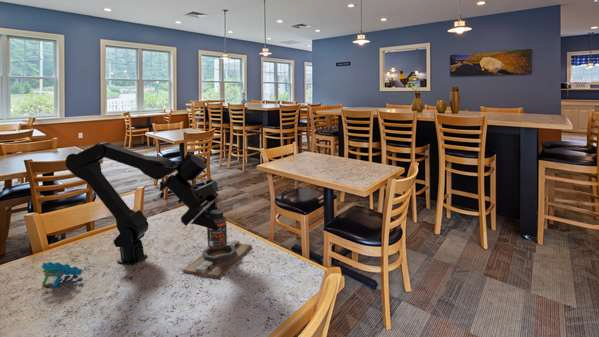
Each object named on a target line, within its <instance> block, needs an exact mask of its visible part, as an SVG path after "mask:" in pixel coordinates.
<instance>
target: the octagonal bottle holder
mask: <svg viewBox="0 0 599 337" xmlns="http://www.w3.org/2000/svg"><path fill="white" fill-rule="evenodd" d="M252 247H253V246H252V244H247V243H241V242H240V240H236V239H235V240H234V239H232V240H230V241H227V245H226V246H225V247H223V248H220V249H212V248H209V247H208V246H207V248H205V249H203V250H202V251H201V252H202V254H201V255H200V256H199V257H198V258H196V259H195V260H193V261H192V262H190V264H188V265H187V266H185V267H184V268H183V269H182V272H183V273H185V274H192V275H198V276H202V277H203V276H204V277H208V278H214V279H219V278H220V277H221V276H222V275H223V274H224V273H225V272H226V271H228V269H230V268H231V267H232V266H233V265H234V264H235V263H236V262H238V260H239V259H240V258H242V256H244V255H245V254H246V253H247V252H248V251H249V250H250V249H251V248H252Z"/></svg>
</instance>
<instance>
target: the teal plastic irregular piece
mask: <svg viewBox="0 0 599 337" xmlns="http://www.w3.org/2000/svg"><path fill="white" fill-rule="evenodd" d="M70 266H71V265H70V264H67V263H65V264H62V263H61V262H54V263H53V262H51V261H48V262H43V264H42V266H41V268H42V271H41V272H42V273H44V275H43V276H45V277H44V279H43V281H42V282H41V285H43V284H45V285H46V283H47V281H48V279H49V278H50V277H51V278H53V277H55V280H54V282H53V284H52V287H53V288H57V287H58V286H59V283H60V280H61V278H62V277H63V276H64V275H65V276H70V275H72V276H77V275H78V276H81V275H82V272H83V269H81V268H79V267H77V266H72V267H70Z"/></svg>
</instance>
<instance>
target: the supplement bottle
mask: <svg viewBox="0 0 599 337" xmlns="http://www.w3.org/2000/svg"><path fill="white" fill-rule="evenodd" d="M210 218H211V219H212V220H213V221H214V222H215V224H216V225H217V226H218V228H219V229H218V230H217V231H216V230H212V229H209V228H206V229H207V230H206V235H207V238H206V239H207V248H208V247H209V248H212V249H220V248H223V247H225V246H226V245H227V242H228V237H227V236H228V231H227V218H226V217H225V216H224V211H223V210H221V209H219V210H212V211H210Z"/></svg>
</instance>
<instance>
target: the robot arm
mask: <svg viewBox="0 0 599 337" xmlns="http://www.w3.org/2000/svg"><path fill="white" fill-rule="evenodd" d="M103 159H107V160H108V159H109V160H111V161H114V162H117V163H120V164H124V165H127V166H129V167H132V168H135V169H138V170H140V171H141V173H143V174H144V175H146V176H148V177H149V178H150V179H153V180H157V181H159V180H161V179H164V178H166V177H167V178H166V179H165V180H162V181H159V185H160V186H159V191H160V192H162V191H164V190H166V189H168V190H169V191H170V192H171V193H172V194H173V195H174V196H175V197H176V198H177V199H178V200H177V202H178V204H181V203H182V204H183V205H185V206H186V207H187V208H188V209H187V211H185V213H184V214H182V215H181V217H180V222H181V223H182V224H183V225H184V226H185V227H187V226H188V225H189V224H191V225H196V226H200V227H203V228H206V229H207V228H209V229H212V230H216V231H217V230H218V229H219V228H218V226H217V225H216V224H215V222H214V221H213V220H212V219H211V218H210V211H212V210H220V209H219V208H218V197H219V196H220V194H219V193H218V192H217V191H220V189H219V187H218V185H219V183H218V182H217V181H216V180H214V179H213V178H209V179H207V180H205V184H204V185H202V186H199V185H197V184H194V185H193V184H192V183H191V182H190V181H193V182H194V181H195V180H196V179H197V178H198V177H199V176H200V175H201V174H202V173H203V172H204V171H205V170H206V168H207V164H206V162H205V161H204V159H202V158H200V157H198V155H197V156H196V155H194V154H193V153H192V152H188V153H186V154H185V156H184V158H182V160H181V161H180V162H179V161H178V162H177V161H172V159H171V158H168V157H163V156H155V155H146V154H142V153H140V152H136V151H133V150H131V149H130V150H129V149H128V148H124V147H121V146H119V145H115V144H113V143H111V142H109V141H104V142H100V143H99V142H98V143H96V144H94V145H93V146H90V147H89V148H87V149H84V150H81V151H77V152H74V153H70V154H68V155H67V156H66V158H65V162H64V165H65V167H66V168H67V170H68V171H69V172H70V173H71V174H72V175H73V176H75V177H76V178H79V179H81V180H82V181H84V182H86V184H88V186H89V187H90V188H91V189H92V191H93V192H94V193H95V195H96V196H97V197H98V198H99V200H100V201H101V202H102V203H103V205H104V206H105V207H106V208H107V210H108V211H109V212H110V213H111V214H112V216H113V217H114V219H115V223H116V229H117V231H118V233H119V234H118V235H117V236H116V237H115V238H114V240H113V244H114V246H115V248H119V253H120V258H119V259H118V260H116V261H117V263H119V264H126V265H129V266H130V265H131V266H132V265H135V264H137V263H138V262H141V261H142V260H144V259H146V258H147V257H148V254H147V253H146V254H145V253H144V246H143V240H141V239H143V238H144V237H145V234H146V232H148V230H149V222H148V217H146V216H145V215H144V214H143V212H142V211H141V210H140V209H138V210H136V211H135V210H133V209H131V208H130V206H128V205H127V203H126V202H125V201H124V200H123V198H122V197H121V196H120V195H119V192H117V191H116V189H115V188H114V187H113V185H112V184H111V183H110V182H109V180H108V179H107V178H106V177H105V175H104V174H103V172H102V165H101V162H100V161H101V160H103ZM173 173H175V174H173Z"/></svg>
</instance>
